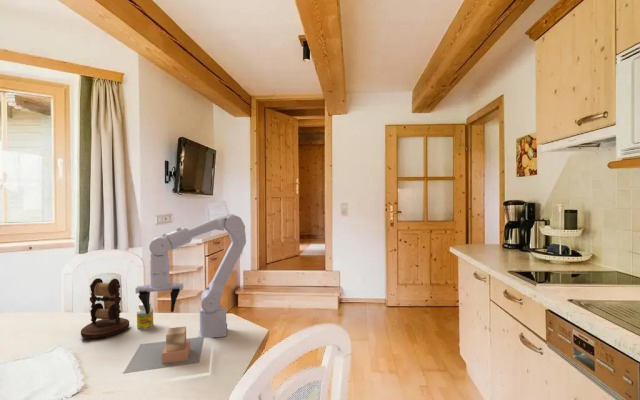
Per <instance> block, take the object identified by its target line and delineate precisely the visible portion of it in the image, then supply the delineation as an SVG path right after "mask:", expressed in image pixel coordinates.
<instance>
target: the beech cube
mask: <svg viewBox="0 0 640 400" xmlns="http://www.w3.org/2000/svg"><path fill="white" fill-rule="evenodd" d="M186 339H187V326H179V327H178V326H177V327H176V326H175V327H169V328H168V330H167V332H166V334H165V341H166V352H167V351H175V350H182V349H184V348H185V345H186Z"/></svg>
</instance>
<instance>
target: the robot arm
mask: <svg viewBox="0 0 640 400" xmlns="http://www.w3.org/2000/svg"><path fill="white" fill-rule="evenodd" d="M214 230H217V231H226V232H227V234H228V235H229V238H230V241H231V242H230V244H229V246H228V248H227V250H226V252H225V253H224V256H223V258H222V260H221V262H220V264H219V266H218V268H217V270H216V272H215V273H214V276H213V278H212V280H211V281H210V282H209V284H208V286H207V287H206V288H205V289H204V290H202V292H200V298H199V299H200V301H201V307H200V308H199V330H198V335H197V337H203V338H204V339H206V338H207V339H208V338H213V339H214V338H221V337H226V336H227V329H228V322H227V307H221V298H222V296H223V293H224V288H225V286H226V284H227V283H228V279H229V278H230V276H231V275H232V274H231V273H232V272H233V270H234V267H235V266H236V264H237V262H238V261H239V258H240V256H241V253H242V251H243V250H244V248H245V245H246V243H247V238H246V236H247V235H246V225H245V223H244V221H243V219H242V218H241V217H240V216H238V215H236V214H233V213H230V214H226V216H224V215H222V216H218V217H215V218H213V219H211V220H208V221H206V222H203V223H202V224H199V225H196V226H194V227H192V228H190V229H189V228H186V227H182V228H181V227H177V228H176V229H175V230H174V231H172V232H168V233H163V234H162V235H161V236H158V237H157V236H156V237H155V238H153V239H152V241H151V242H150V243H149V245H148V246H149V252H150V256H149V257H150V259H149V263H150V264H149V266H150V267H149V269H150V271H149V272H150V274H149V275H150V278H149V279H150V284H146V285H145V284H144V285H139V286H138V285H137V286H136V287H135V294H138V298H139V300H140V301H141V302H140V303H143V305H144V308H145V311H146V314H149V313H150V303H149V302H151V300H150V297H151V296H150V295H151V293H152V292H164V291H166V292H167V291H170V301H171V302H170V304H171V305H170V312H171V313H173V312H174V311H175V307H176V302H177V299H178V297H179V296H178V295H179V293H180V292H181V291H183V290H184V282H170V258H169V250H171V251H172V250H175V249H178V248H180V247H182V246H185V245H187V244H190V243H191V242H192V239H193V238H195V237H198V236H200V235H203V234H207V233H208V232H211V231H214Z"/></svg>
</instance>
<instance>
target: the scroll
mask: <svg viewBox="0 0 640 400" xmlns="http://www.w3.org/2000/svg"><path fill="white" fill-rule="evenodd" d="M89 288H90V297H89V301H90V303H91V305H90V308H91V309H90V311H89V312H90V317H91V319H90V321H91V322H90V323H88V324H86V325H85V326H84V327H82V328H81V329H80V336H81V338H82V339H86V338H87V339H97V338H103V337H105V338H106V339H110V337H111V336H113V335H115V334H118V333H121V332H123V331H125V330H126V329H128V328H129V326H130V320H129V319H127V318H124V317H121V312H122V310H121V309H120V308H121V306H120V303H121V301H122V297H121V293H120V290H121V289H120V288H121V284H120V281H119V279H118V278H112V279H111V280H110V281H109V282H104V281H103V279H101V278H98V277H97V278H95V279H93V281H92V283H91V284H90V285H89ZM100 301H101V302H103V304H102V303H100ZM96 302H97V303H96Z"/></svg>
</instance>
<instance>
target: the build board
mask: <svg viewBox="0 0 640 400" xmlns="http://www.w3.org/2000/svg"><path fill="white" fill-rule="evenodd" d="M204 340H205V338H203V337H198V336H196V337H189V338H186V345H185V348H184V349H182V350H175V351H167V352H166V340H164V341H155V342H148V343H147V342H146V343H140V344H139V346H138V348H137V349H136V350H135V353H134V354H133V356H132V357H131V359H130V361H129V363H128V364H127V366H126V368H125V369H124V371H123V372H122V374H128V373H135V372H136V373H137V372H143V371H150V370H158V369H164V368H165V369H166V368H170V367H172V368H173V367H178V366H185V365H192V364H193V365H194V364H199V363H200V359H201V354H202V351H203V350H202V349H203V344H204Z"/></svg>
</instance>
